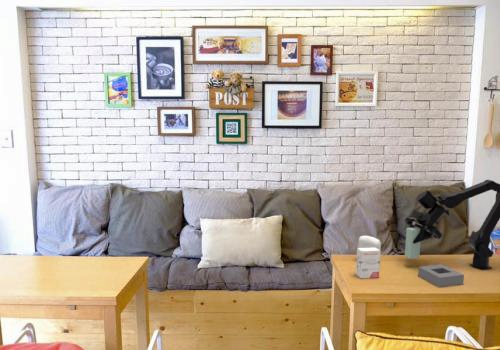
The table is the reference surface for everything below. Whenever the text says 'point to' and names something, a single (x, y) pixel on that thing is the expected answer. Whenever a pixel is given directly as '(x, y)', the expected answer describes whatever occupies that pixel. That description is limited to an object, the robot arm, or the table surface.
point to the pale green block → (410, 247)
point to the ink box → (368, 262)
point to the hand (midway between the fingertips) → (410, 241)
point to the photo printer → (369, 242)
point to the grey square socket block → (441, 275)
